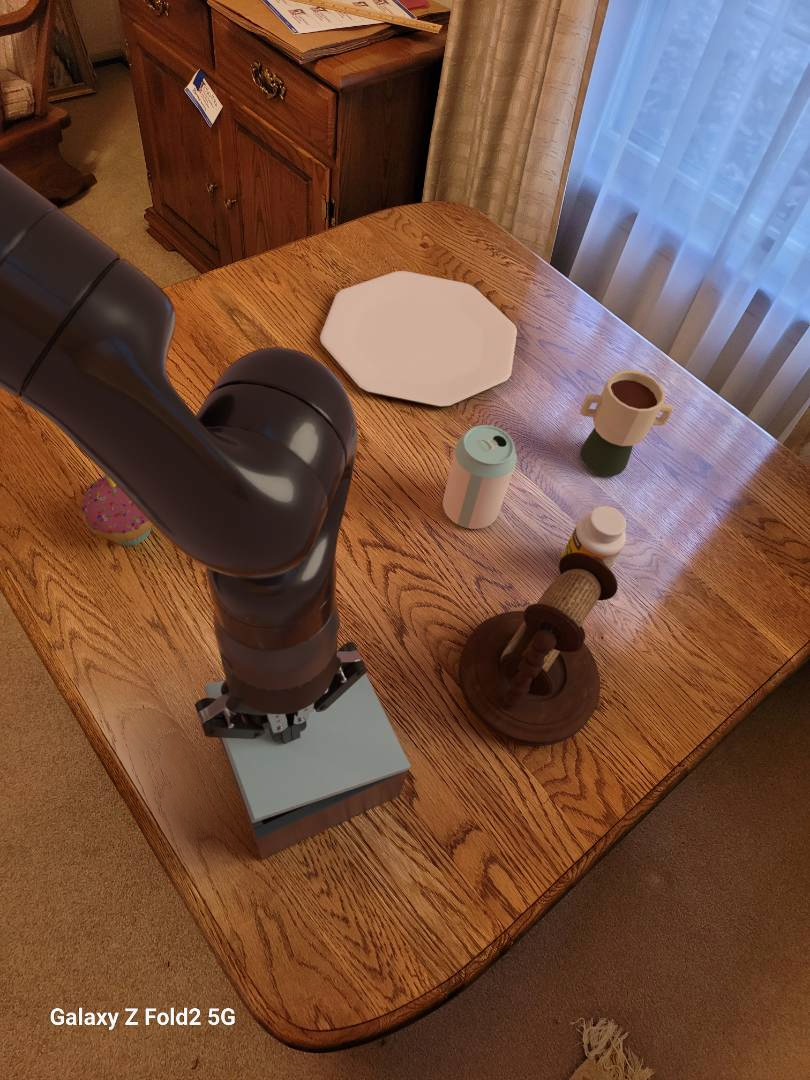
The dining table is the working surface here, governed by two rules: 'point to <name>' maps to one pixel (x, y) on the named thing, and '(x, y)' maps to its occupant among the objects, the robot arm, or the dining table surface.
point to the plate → (419, 338)
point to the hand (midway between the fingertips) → (287, 730)
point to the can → (479, 476)
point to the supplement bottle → (599, 535)
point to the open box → (317, 813)
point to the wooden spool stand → (539, 659)
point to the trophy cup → (621, 420)
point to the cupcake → (114, 514)
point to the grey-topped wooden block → (316, 754)
